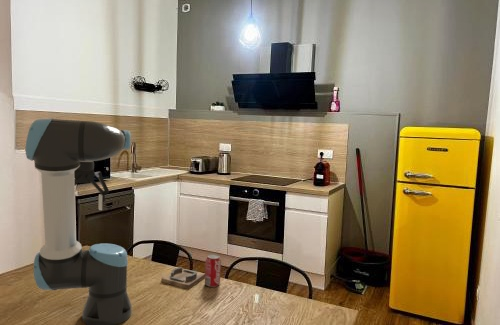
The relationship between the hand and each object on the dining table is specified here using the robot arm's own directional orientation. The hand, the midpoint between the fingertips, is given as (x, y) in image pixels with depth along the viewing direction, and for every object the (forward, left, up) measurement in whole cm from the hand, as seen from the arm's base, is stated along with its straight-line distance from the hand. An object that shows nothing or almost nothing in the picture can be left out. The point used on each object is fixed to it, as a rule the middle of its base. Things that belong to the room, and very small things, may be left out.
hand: (83, 211), depth 154 cm
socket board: (-24, -37, -26) cm, 51 cm away
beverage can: (-33, -46, -26) cm, 62 cm away
